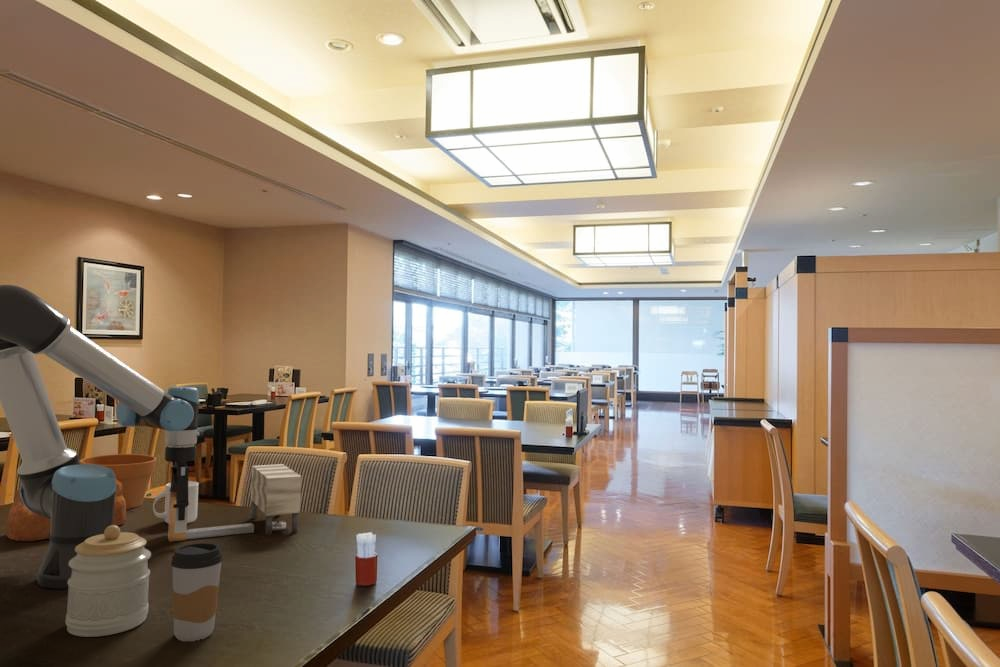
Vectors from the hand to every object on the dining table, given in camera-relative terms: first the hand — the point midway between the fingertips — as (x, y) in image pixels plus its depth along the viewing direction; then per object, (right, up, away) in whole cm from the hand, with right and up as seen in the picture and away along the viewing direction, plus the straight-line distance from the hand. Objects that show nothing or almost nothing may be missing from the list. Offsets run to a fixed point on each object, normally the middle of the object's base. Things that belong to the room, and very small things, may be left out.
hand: (177, 526), depth 173 cm
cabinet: (+20, -4, +17) cm, 26 cm away
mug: (-9, -4, +17) cm, 19 cm away
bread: (-33, -3, +6) cm, 33 cm away
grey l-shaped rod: (+7, -4, +4) cm, 9 cm away
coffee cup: (+31, -2, -57) cm, 65 cm away
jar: (+14, -2, -54) cm, 55 cm away
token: (+22, -5, +13) cm, 26 cm away
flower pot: (-36, -4, +33) cm, 49 cm away
